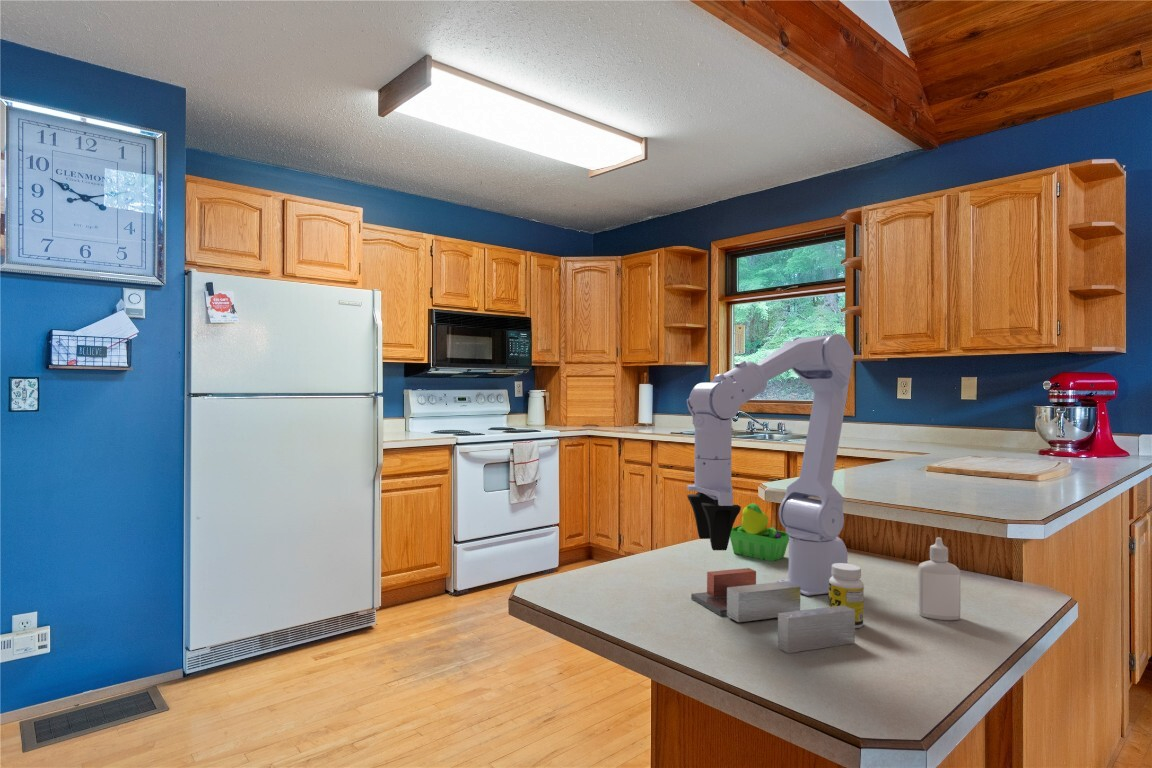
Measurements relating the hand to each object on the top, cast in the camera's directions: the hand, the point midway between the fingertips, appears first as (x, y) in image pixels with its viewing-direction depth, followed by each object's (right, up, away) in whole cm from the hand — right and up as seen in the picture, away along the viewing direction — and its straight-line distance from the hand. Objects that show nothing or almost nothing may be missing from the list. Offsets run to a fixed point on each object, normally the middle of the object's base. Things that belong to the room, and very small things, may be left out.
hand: (712, 544), depth 102 cm
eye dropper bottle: (+34, -11, -3) cm, 36 cm away
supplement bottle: (+18, -10, -7) cm, 22 cm away
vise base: (+4, -10, +2) cm, 11 cm away
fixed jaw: (+11, -10, -16) cm, 21 cm away
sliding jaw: (+5, -10, -1) cm, 11 cm away
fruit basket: (+16, -11, +33) cm, 38 cm away
